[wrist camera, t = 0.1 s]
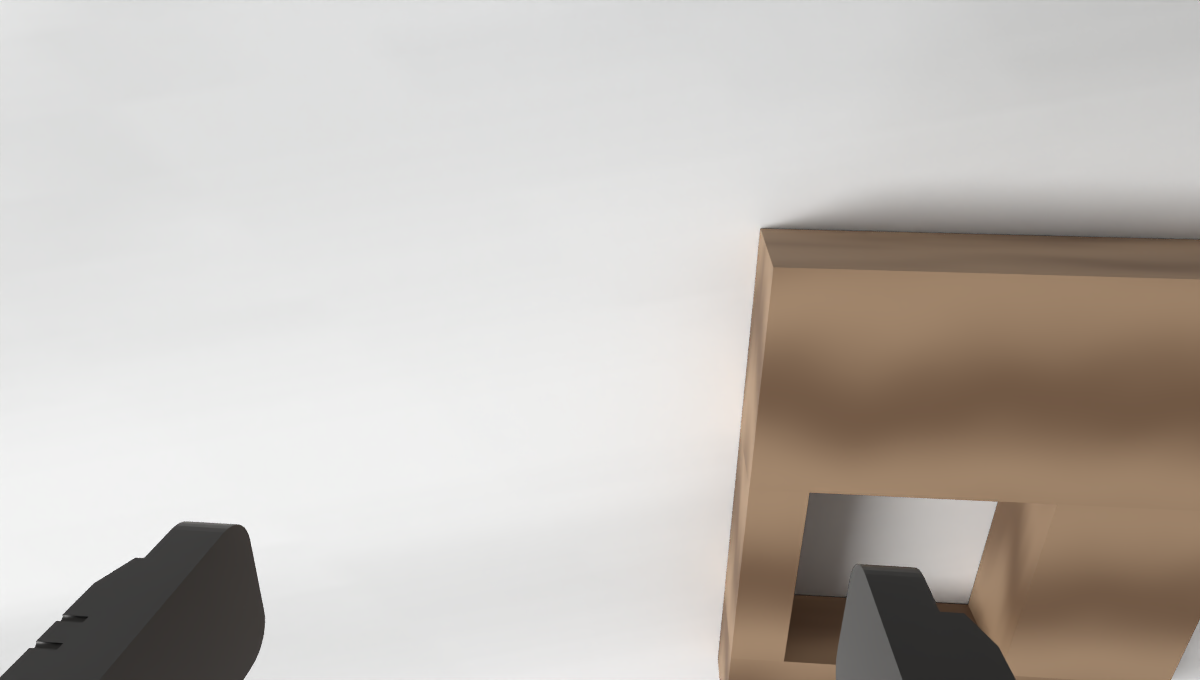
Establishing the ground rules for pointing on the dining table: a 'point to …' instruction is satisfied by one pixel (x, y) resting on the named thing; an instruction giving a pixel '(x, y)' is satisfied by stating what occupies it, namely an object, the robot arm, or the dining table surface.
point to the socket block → (978, 437)
